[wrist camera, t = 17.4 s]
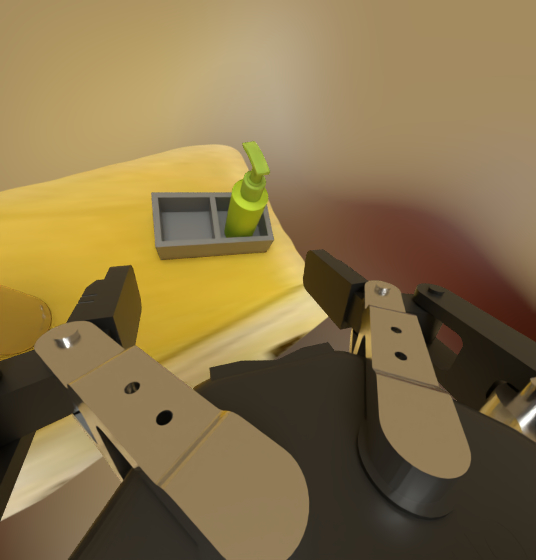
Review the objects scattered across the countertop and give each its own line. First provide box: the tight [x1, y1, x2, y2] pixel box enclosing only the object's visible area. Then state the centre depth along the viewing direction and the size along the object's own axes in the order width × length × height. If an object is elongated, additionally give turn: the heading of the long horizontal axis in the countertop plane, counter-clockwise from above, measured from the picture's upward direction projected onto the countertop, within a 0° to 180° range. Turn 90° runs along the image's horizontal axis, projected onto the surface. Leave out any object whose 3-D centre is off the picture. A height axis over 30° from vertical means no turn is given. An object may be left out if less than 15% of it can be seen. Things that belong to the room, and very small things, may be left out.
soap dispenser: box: [224, 141, 270, 238], centre depth 42 cm, size 6×7×20 cm
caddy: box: [151, 193, 274, 260], centre depth 48 cm, size 21×10×6 cm, turn 101°
